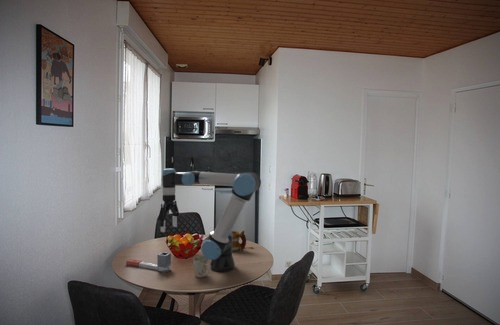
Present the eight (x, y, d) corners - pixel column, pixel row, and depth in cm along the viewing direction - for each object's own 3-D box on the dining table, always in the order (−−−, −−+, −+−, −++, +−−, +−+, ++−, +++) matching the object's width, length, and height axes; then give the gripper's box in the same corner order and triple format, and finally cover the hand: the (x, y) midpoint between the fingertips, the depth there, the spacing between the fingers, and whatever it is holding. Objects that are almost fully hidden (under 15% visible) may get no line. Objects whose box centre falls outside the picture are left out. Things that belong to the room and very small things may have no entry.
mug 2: (227, 246, 239) (228, 227, 238) (248, 249, 234) (248, 229, 233) (221, 251, 229) (222, 230, 228) (243, 254, 223) (244, 233, 223)
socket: (170, 264, 192) (171, 253, 191) (165, 267, 186) (165, 256, 186) (162, 263, 194) (163, 251, 193) (157, 266, 188) (157, 254, 188)
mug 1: (200, 271, 190) (200, 254, 190) (215, 277, 182) (215, 260, 182) (189, 275, 184) (190, 258, 183) (204, 281, 176) (204, 263, 175)
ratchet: (172, 269, 192) (172, 256, 192) (165, 273, 186) (166, 259, 185) (131, 262, 202) (131, 249, 202) (124, 266, 195) (124, 253, 195)
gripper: (174, 191, 205) (174, 224, 205) (151, 196, 181) (151, 233, 181) (184, 192, 202) (184, 225, 203) (163, 197, 179) (163, 234, 179)
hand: (169, 229), depth 192 cm, fingers open, 13 cm apart
